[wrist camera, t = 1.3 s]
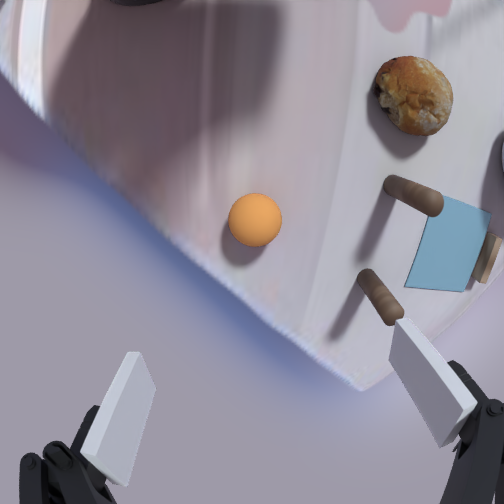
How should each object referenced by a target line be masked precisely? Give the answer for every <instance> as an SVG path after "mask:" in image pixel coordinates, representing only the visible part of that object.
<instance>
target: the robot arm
mask: <svg viewBox="0 0 504 504" xmlns="http://www.w3.org/2000/svg"><path fill="white" fill-rule="evenodd" d="M110 1H112V2H114V3H117V4H121V5H128V6H135V5H145V4H150V3H154V2H158V1H161V0H110ZM389 361H390V363H391V365H392V366H393V368H394V370H395V371H396V372H397V374H398V376H399V378H400V379H401V381H402V383H403V384H404V386H405V388H406V389H407V391H408V393H409V394H410V396H411V398H412V399H413V401H414V403H415V405H416V406H417V408H418V410H419V412H420V413H421V415H422V417H423V419H424V420H425V422H426V424H427V426H428V427H429V429H430V431H431V433H432V435H433V437H434V439H435V440H436V442H437V444H438V446H439V448H441V447H443V446H445V445H447V444H449V443H451V442H453V441H454V440H455V438H456V437H457V435H458V434H459V436H460V438H461V439H460V441H459V442H458V443H457V445H456V446H455V448H454V449H453V452H454V451H456V449H457V452H456V456H455V459H454V463H453V467H452V470H451V473H450V476H449V479H448V483H447V485H446V488H445V491H444V494H443V496H442V499H441V501H440V504H492V500H493V496H494V493H495V504H504V403H502V402H501V401H499V400H496V399H490V400H489V399H488V398H487V396H486V395H485V394H484V392H483V391H482V390H481V389H480V387H479V386H478V385H477V384H476V382H475V381H474V380H473V379H472V378H471V376H470V375H469V374H467V372H466V370H465V369H464V368H463V367H462V366H461V365H460V364H459V363H457V362H455V361H453V360H452V361H450V362H446V361H445V360H444V359H443V357H442V356H441V355H440V354H439V353H438V351H437V350H436V349H435V348H434V347H433V345H432V344H431V343H430V342H429V341H428V339H427V338H426V337H425V336H424V335H423V334H422V333H421V331H420V330H419V329H418V328H417V327H416V326H415V325H414V323H413V322H412V321H411V320H410V319H409V318H408V317H406V318H402V319H398V320H396V322H395V328H394V334H393V340H392V345H391V350H390V355H389ZM155 392H156V386H155V384H154V382H153V380H152V378H151V375H150V373H149V371H148V369H147V366H146V364H145V362H144V359H143V357H142V354H141V352H127V354H126V356H125V358H124V360H123V362H122V364H121V366H120V368H119V370H118V372H117V374H116V376H115V378H114V380H113V382H112V384H111V386H110V388H109V390H108V392H107V394H106V396H105V398H104V400H103V402H102V404H101V406H96V405H94V406H93V407H92V408H91V409H90V410H89V411H88V412H87V414H86V416H85V418H84V421H83V422H82V424H81V426H80V429H79V430H78V432H77V434H76V437H75V439H74V441H73V443H72V445H71V447H70V449H69V448H68V447H67V446H66V445H65V444H64V443H63V442H61V441H53V442H50V443H49V444H47V445H46V446H45V448H44V450H43V458H44V459H41V458H40V457H39V456H38V455H37V454H35V453H27V454H26V455H24V456H23V457H22V459H21V462H20V477H19V478H20V479H19V498H20V504H117V503H116V501H115V499H114V498H113V496H112V494H111V492H110V490H109V489H108V487H107V485H106V484H105V481H106V478H107V479H108V480H109V481H110V482H112V484H116V485H121V486H126V487H128V483H129V479H130V476H131V472H132V469H133V465H134V461H135V458H136V454H137V451H138V447H139V444H140V441H141V437H142V433H143V430H144V427H145V424H146V420H147V417H148V414H149V411H150V408H151V405H152V401H153V398H154V395H155Z"/></svg>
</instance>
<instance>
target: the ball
mask: <svg viewBox="0 0 504 504" xmlns="http://www.w3.org/2000/svg"><path fill="white" fill-rule="evenodd" d="M228 222H229V228H230V230H231V232H232V234H233V236H234V237H235V238H236V239H237V240H238V241H239V242H241V243H242V244H245V245H247V246H252V247H258V246H263V245H266V244H268V243H269V242H271V241H272V240H273V239H274V238H275V237H276V236H277V235H278V233H279V231H280V228H281V224H282V216H281V212H280V209H279V207H278V206H277V204H276V203H275V202H274V201H273V200H272V199H271V198H269V197H268V196H266V195H263V194H257V193H253V194H248V195H245V196H243V197H241V198H239V199H238V200H237V201H236V202H235V203H234V204H233V206H232V208H231V210H230V212H229V218H228Z"/></svg>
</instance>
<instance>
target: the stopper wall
mask: <svg viewBox="0 0 504 504" xmlns="http://www.w3.org/2000/svg"><path fill="white" fill-rule="evenodd" d="M501 243H502V239H501V238H500V237H498V236H496V235H495V234H493V233H490V232H487V234H486V237H485V240H484V243H483V246H482V249H481V252H480V255H479V257H478V260H477V263H476V265H475V268H474V270H473V273H472V275H471V276H472V277H473V278H475V279H476V280H477V281H478V282H479V283H485V284H486V282H487V280H488V277H489V275H490V272H491V270H492V267H493V265H494V262H495V259H496V257H497V254H498V251H499V248H500V245H501Z"/></svg>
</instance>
